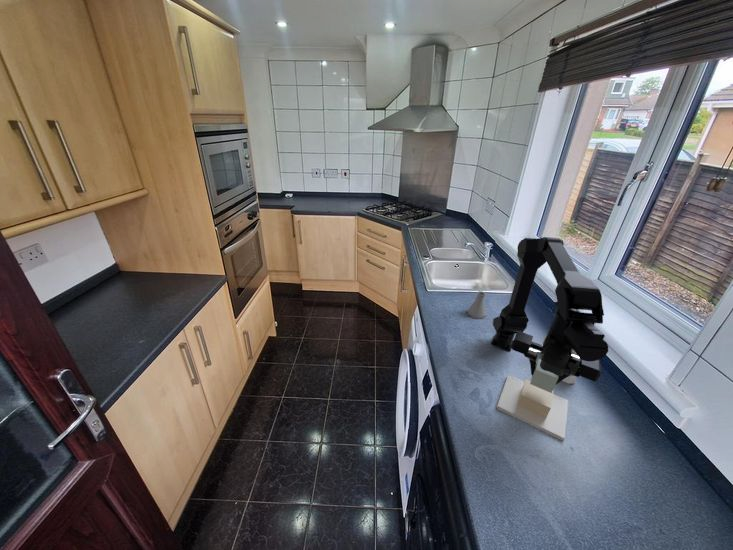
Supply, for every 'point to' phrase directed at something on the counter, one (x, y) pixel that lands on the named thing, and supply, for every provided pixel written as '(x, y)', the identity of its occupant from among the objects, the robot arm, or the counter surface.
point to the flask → (478, 307)
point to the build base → (529, 417)
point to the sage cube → (543, 378)
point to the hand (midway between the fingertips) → (543, 378)
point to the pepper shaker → (571, 378)
